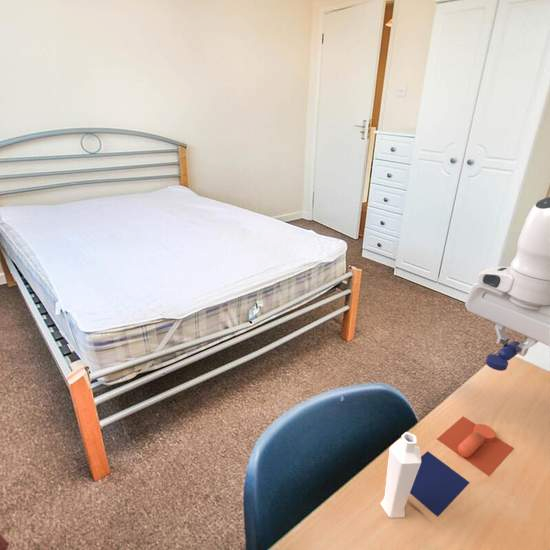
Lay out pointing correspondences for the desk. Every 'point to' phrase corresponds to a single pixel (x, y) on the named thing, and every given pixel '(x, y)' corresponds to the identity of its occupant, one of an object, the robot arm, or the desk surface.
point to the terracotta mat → (485, 455)
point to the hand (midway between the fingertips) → (510, 349)
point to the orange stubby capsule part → (476, 440)
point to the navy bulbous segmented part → (502, 356)
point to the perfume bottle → (401, 474)
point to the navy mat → (436, 484)
